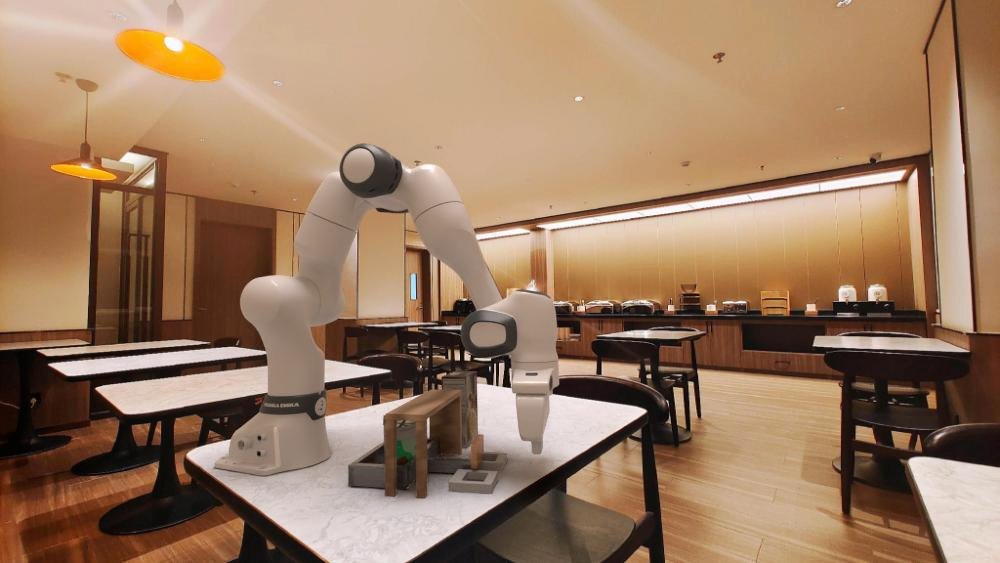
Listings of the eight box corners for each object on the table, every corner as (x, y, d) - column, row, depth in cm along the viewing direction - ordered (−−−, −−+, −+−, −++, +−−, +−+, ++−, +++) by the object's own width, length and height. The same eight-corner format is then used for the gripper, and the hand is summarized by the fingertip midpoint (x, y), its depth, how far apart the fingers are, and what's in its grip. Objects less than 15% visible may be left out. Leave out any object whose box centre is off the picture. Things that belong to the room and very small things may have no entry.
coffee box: (453, 435, 103) (453, 370, 104) (478, 436, 102) (477, 370, 103) (441, 447, 94) (440, 376, 95) (468, 448, 93) (467, 376, 94)
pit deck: (448, 491, 70) (448, 482, 71) (471, 458, 86) (471, 451, 86) (491, 493, 69) (491, 484, 69) (507, 460, 85) (506, 452, 85)
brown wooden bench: (385, 495, 69) (385, 413, 70) (431, 451, 91) (431, 389, 92) (424, 498, 68) (424, 414, 69) (462, 453, 90) (461, 390, 91)
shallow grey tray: (348, 485, 73) (348, 449, 74) (391, 452, 90) (391, 423, 91) (468, 492, 69) (467, 454, 70) (490, 456, 86) (489, 426, 87)
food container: (430, 480, 75) (429, 424, 76) (396, 487, 73) (396, 429, 74) (412, 459, 86) (412, 411, 87) (382, 465, 84) (382, 414, 84)
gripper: (525, 368, 88) (527, 435, 87) (510, 384, 68) (512, 471, 67) (554, 368, 87) (557, 435, 86) (548, 385, 67) (551, 473, 66)
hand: (537, 451), depth 76 cm, fingers closed
